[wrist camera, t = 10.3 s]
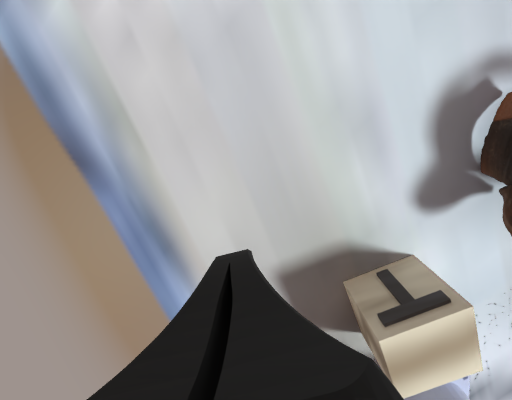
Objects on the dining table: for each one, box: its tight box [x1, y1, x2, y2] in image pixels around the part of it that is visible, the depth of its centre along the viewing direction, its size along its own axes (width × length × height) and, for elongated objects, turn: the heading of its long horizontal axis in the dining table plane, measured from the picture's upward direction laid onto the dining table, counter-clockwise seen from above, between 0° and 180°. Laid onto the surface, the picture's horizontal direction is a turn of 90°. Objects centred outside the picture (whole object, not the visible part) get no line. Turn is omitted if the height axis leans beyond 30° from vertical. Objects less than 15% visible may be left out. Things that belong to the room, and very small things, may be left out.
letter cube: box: [343, 255, 483, 399], centre depth 21 cm, size 6×6×6 cm
